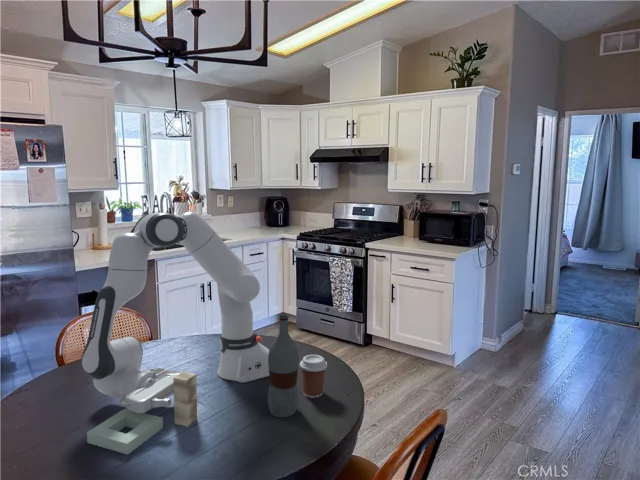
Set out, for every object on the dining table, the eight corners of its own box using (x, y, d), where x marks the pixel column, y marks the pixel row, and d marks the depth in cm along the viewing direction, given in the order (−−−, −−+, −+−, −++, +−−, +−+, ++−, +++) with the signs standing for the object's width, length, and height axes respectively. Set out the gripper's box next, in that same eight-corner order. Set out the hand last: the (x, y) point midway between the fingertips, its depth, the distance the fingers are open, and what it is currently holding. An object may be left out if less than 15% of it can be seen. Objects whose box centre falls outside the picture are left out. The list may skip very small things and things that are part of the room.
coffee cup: (317, 402, 146) (317, 366, 144) (293, 394, 150) (294, 360, 149) (331, 391, 153) (332, 357, 152) (309, 384, 158) (309, 351, 156)
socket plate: (125, 418, 134) (124, 408, 134) (163, 427, 130) (162, 417, 129) (87, 442, 122) (86, 432, 121) (127, 454, 117) (127, 443, 117)
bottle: (299, 404, 144) (301, 312, 140) (296, 419, 135) (297, 321, 131) (270, 402, 145) (270, 310, 141) (265, 417, 136) (265, 320, 132)
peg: (184, 416, 136) (183, 371, 134) (197, 419, 135) (196, 374, 132) (174, 423, 132) (173, 377, 130) (187, 427, 130) (186, 380, 128)
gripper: (114, 392, 128) (154, 402, 123) (163, 364, 147) (200, 371, 142) (115, 413, 129) (155, 424, 124) (164, 383, 147) (200, 390, 143)
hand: (179, 395), depth 133 cm, fingers open, 8 cm apart
